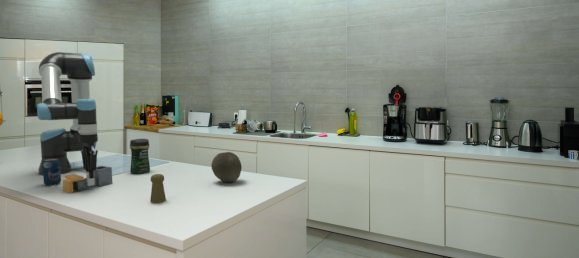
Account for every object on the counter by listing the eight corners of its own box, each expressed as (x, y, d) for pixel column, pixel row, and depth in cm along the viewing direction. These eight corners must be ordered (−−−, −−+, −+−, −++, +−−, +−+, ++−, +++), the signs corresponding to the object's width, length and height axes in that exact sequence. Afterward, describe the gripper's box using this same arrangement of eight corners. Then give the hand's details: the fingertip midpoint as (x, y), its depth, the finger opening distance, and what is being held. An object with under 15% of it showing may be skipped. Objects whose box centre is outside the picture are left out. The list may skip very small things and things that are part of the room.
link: (79, 191, 160) (78, 174, 159) (70, 189, 163) (69, 172, 162) (112, 183, 174) (111, 167, 174) (102, 181, 178) (102, 165, 177)
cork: (160, 197, 152) (159, 172, 151) (169, 200, 148) (168, 174, 147) (147, 201, 147) (146, 174, 146) (156, 204, 144) (155, 176, 142)
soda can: (51, 186, 168) (49, 161, 167) (40, 185, 170) (38, 160, 169) (64, 183, 175) (63, 158, 174) (53, 181, 177) (52, 157, 176)
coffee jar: (136, 175, 192) (134, 140, 190) (128, 173, 197) (126, 139, 195) (152, 172, 199) (151, 138, 197) (145, 170, 204) (143, 137, 202)
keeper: (61, 190, 162) (60, 176, 161) (75, 187, 167) (74, 174, 166) (70, 193, 157) (69, 179, 156) (84, 190, 162) (83, 176, 161)
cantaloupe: (230, 177, 188) (230, 148, 186) (247, 182, 178) (247, 152, 176) (206, 182, 178) (206, 152, 176) (223, 187, 168) (222, 155, 166)
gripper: (72, 133, 163) (76, 184, 166) (85, 135, 155) (88, 189, 158) (90, 131, 169) (93, 181, 172) (103, 133, 161) (105, 185, 163)
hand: (90, 185), depth 165 cm, fingers closed
